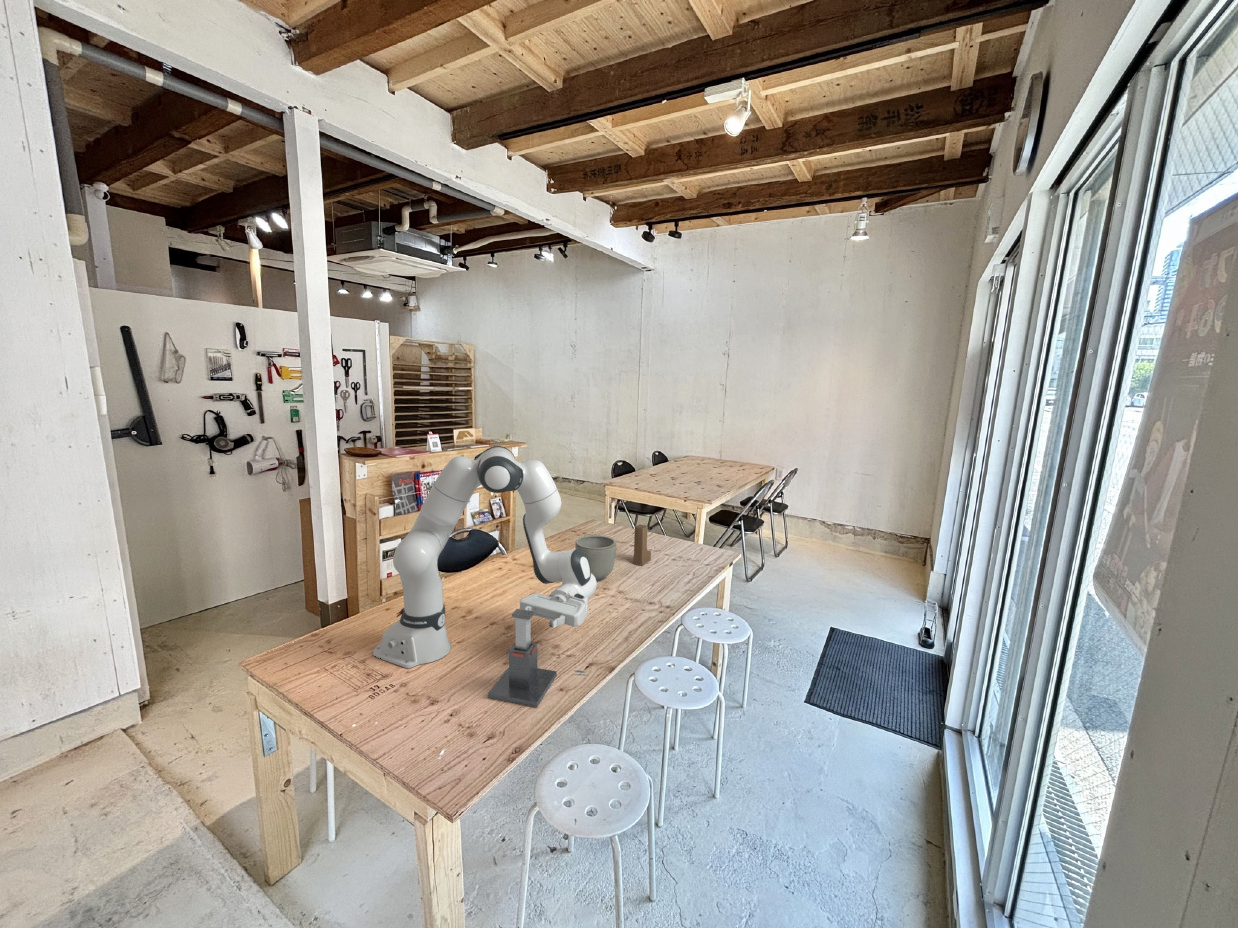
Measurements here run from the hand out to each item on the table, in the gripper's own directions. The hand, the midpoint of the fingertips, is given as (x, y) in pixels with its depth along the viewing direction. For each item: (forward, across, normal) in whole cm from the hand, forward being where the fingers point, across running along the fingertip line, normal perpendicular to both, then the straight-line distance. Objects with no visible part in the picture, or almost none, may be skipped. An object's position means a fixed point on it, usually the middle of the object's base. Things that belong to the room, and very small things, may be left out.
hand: (537, 620), depth 139 cm
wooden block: (-94, -7, +16) cm, 96 cm away
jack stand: (+7, 0, +16) cm, 18 cm away
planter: (-68, -18, +16) cm, 72 cm away
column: (+7, 0, +14) cm, 16 cm away
